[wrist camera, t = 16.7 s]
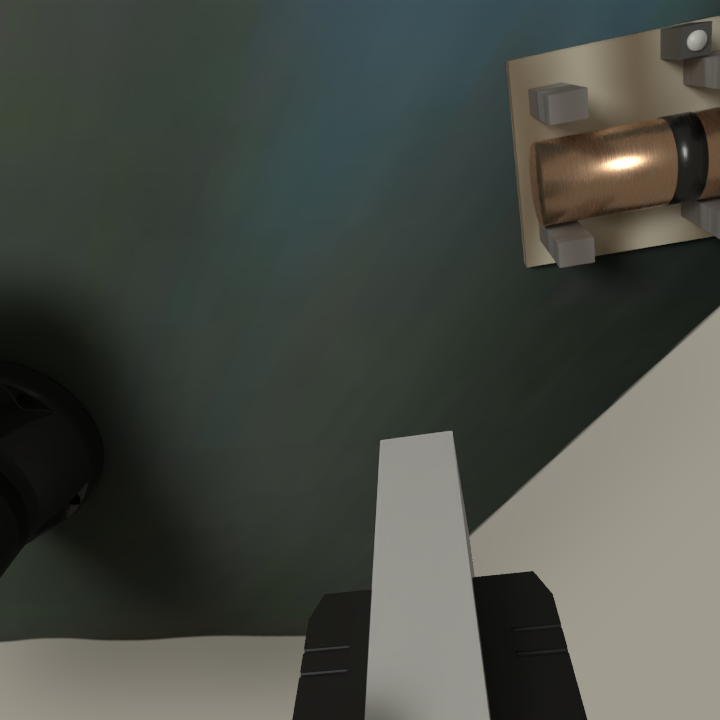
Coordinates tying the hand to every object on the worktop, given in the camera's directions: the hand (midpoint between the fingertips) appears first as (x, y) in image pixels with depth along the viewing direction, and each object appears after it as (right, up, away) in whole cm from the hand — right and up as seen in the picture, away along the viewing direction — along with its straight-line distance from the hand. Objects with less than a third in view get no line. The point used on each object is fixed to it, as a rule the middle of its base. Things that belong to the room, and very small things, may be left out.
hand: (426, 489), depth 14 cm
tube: (+17, +15, +26) cm, 35 cm away
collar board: (+15, +16, +27) cm, 35 cm away
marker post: (+17, +21, +23) cm, 36 cm away
